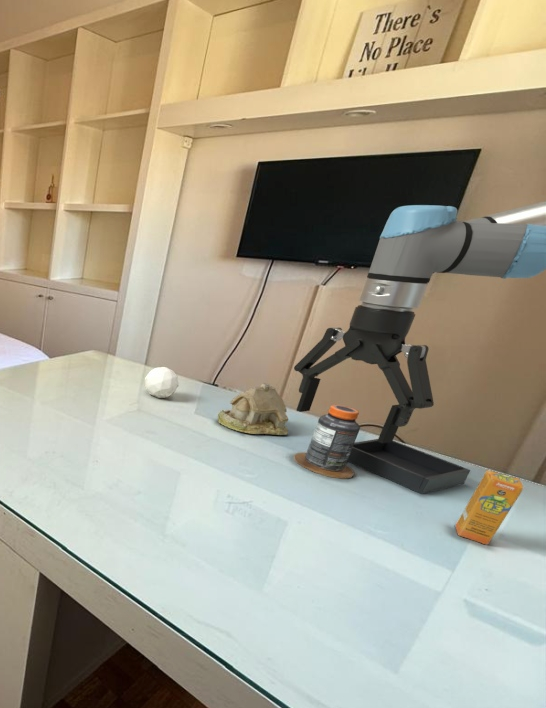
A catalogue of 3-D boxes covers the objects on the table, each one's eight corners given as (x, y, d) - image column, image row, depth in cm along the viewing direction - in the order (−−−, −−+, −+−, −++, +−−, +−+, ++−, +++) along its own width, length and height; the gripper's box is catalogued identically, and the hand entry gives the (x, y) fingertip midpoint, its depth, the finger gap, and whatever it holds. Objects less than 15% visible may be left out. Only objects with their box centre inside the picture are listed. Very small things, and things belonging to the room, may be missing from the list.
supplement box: (456, 535, 66) (489, 476, 63) (454, 526, 69) (485, 468, 65) (489, 547, 64) (525, 486, 61) (486, 536, 67) (520, 477, 63)
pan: (463, 484, 82) (471, 469, 81) (421, 494, 77) (428, 479, 76) (379, 450, 93) (385, 437, 92) (338, 457, 89) (344, 444, 88)
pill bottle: (340, 462, 86) (363, 407, 82) (345, 475, 81) (370, 417, 77) (302, 453, 88) (323, 399, 85) (305, 465, 84) (326, 408, 80)
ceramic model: (252, 414, 108) (265, 374, 104) (298, 435, 98) (314, 391, 94) (207, 418, 103) (219, 376, 100) (250, 440, 93) (265, 395, 90)
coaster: (364, 475, 82) (365, 473, 82) (332, 481, 79) (333, 479, 79) (313, 452, 90) (314, 450, 90) (282, 457, 87) (283, 455, 87)
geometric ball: (146, 404, 117) (135, 375, 118) (176, 394, 117) (164, 366, 118) (157, 400, 109) (145, 369, 111) (189, 389, 109) (176, 359, 111)
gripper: (295, 295, 84) (262, 401, 91) (475, 323, 62) (412, 460, 70) (321, 295, 87) (287, 398, 94) (503, 322, 65) (440, 454, 72)
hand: (340, 425), depth 82 cm, fingers open, 13 cm apart
